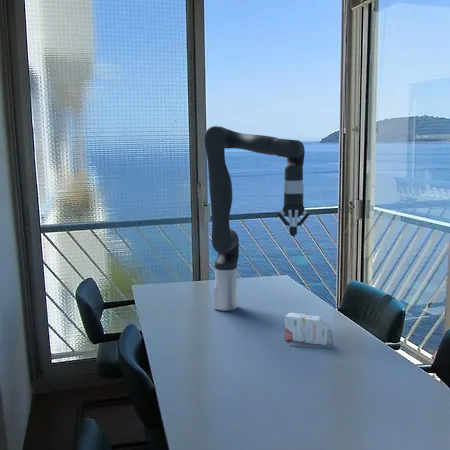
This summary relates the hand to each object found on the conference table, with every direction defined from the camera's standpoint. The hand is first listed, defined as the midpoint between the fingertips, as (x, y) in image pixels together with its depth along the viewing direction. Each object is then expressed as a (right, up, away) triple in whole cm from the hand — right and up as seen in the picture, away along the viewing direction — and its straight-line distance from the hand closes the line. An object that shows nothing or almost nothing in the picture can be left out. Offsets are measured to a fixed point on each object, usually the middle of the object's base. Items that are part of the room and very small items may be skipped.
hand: (293, 236), depth 196 cm
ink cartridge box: (-5, -31, -21) cm, 38 cm away
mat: (+3, -35, -21) cm, 41 cm away
